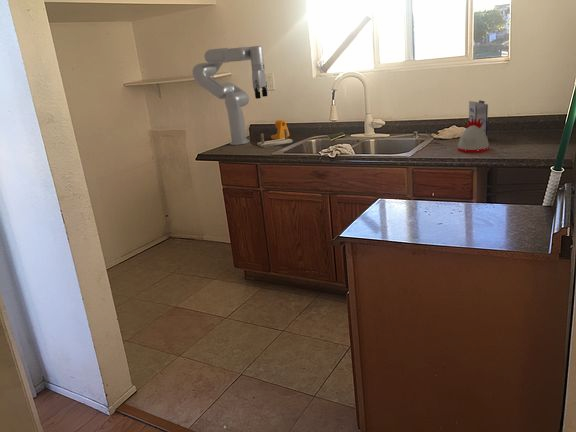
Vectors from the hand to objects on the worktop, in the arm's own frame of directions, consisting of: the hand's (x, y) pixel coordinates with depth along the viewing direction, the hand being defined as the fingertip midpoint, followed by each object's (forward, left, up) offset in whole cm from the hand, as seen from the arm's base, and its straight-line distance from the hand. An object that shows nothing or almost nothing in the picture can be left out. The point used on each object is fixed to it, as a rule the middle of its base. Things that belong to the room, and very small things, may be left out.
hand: (261, 97), depth 294 cm
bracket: (-9, +13, -28) cm, 32 cm away
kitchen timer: (+107, +62, -28) cm, 127 cm away
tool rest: (+6, +3, -28) cm, 29 cm away
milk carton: (+92, +81, -28) cm, 126 cm away
